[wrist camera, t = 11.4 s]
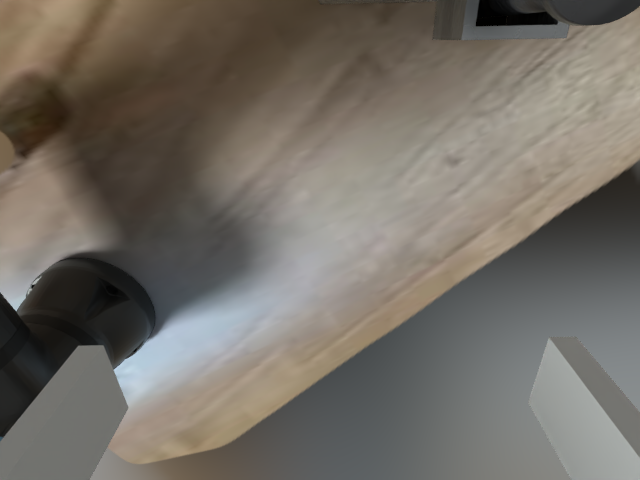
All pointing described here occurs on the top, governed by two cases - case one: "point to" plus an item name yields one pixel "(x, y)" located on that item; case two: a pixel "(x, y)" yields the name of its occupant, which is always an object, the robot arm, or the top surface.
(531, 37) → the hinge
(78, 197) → the top surface
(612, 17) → the pin
